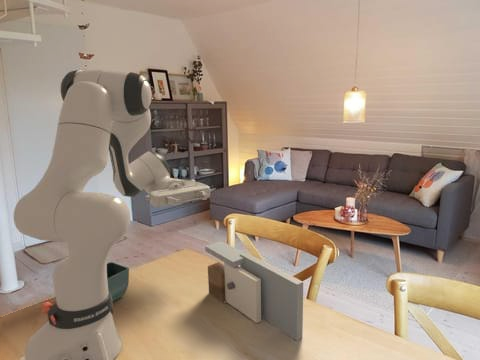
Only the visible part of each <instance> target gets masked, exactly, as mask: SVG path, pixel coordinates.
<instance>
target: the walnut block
mask: <svg viewBox="0 0 480 360" xmlns="http://www.w3.org/2000/svg"><path fill="white" fill-rule="evenodd" d="M207 279H208V281H207V283H208V294H209V295H210V296H212V297H213V298H214V299H216V300H218V302H220V303H221V304H223V303H226V302H227V301H225V275H224V263H221V262H219V261H218V262H216V263H212V264H210V265H207Z"/></svg>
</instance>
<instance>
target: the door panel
mask: <svg viewBox="0 0 480 360" xmlns="http://www.w3.org/2000/svg"><path fill="white" fill-rule="evenodd" d="M223 265H224V275H225V301H226V302H227V303H228V304H230V305H231V306H232V307H234V309H236V310H238V311H239V312H240V313H242V314H244V316H246V317H247V318H249V319H250V320H252V322H254V323H256V324H257V323H259V322H262V317H261V279H259V278H258V277H256V276H254V275H253V274H251V273H249V272H247V271H246V270H244V269H242V268H240V265H238V266H236V267H232V266H230V265H228V264H226V263H225V262H223Z"/></svg>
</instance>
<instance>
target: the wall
mask: <svg viewBox="0 0 480 360" xmlns="http://www.w3.org/2000/svg"><path fill="white" fill-rule="evenodd" d="M204 248H205V249H204V251H205V252H207V253H208V254H210V255H211V256H213V257H215V258H217V259H218V260H220V261H222V262H223V263H224V262H225V263H226V264H228V265H230V266H232V267H236V266H239V267H240V268H242V269H244V270H246V271H247V272H249V273H251V274H253V275H254V276H256V277H258V278H259V279H261V318H262V319H264V320H266V321H267V322H269V323H270V324H272V325H273V326H275V327H276V328H278V329H279V330H280V331H281V332H283V333H284V334H286V336H287V335H288V336H289V337H290V338H292V339H293V340H295V341H299V340H301V339H303V330H304V329H303V327H304V326H303V323H304V321H303V319H304V314H303V313H304V281H302V280H300V279H298V278H297V277H295V276H292V275H291V274H289V273H287V272H285V271H282V270H281V269H279V268H278V267H275V266H273V265H271V264H270V263H267V262H266V261H264V260H262V259H259V258H257V257H255V256H254V255H252V254H250V253H248V252H246V251H245V252H243V250H242V251H241V250H239V249H238V248H236V247H234V246H233V245H229V244H228V243H226V242H224V241H223V240H221V241H218V242H213V243H211V244H210V243H209V244H207V245H205V246H204Z"/></svg>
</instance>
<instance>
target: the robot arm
mask: <svg viewBox="0 0 480 360" xmlns="http://www.w3.org/2000/svg"><path fill="white" fill-rule="evenodd" d="M151 88H152V87H151V84H150V81H149V80H148V79H147V78H146V77H145V76H144V75H143V74H140V73H137V72H124V71H117V70H108V69H87V70H83V69H77V70H76V69H75V70H71V71H69V72H67V73H66V74H65V76H64V77H63V79H62V81H61V84H60V95H61V99H62V104H61V105H62V106H61V109H60V113H59V117H58V123H57V129H56V135H55V141H54V145H53V150H52V155H51V158H50V162H49V164H48V166H47V168H46V171H45V172H44V174H43V175H42V177H41V179H40V181H38V183H37V185H35V186H34V188H33V189H31V190H30V191H29V192H28V193H26V194H25V195H23V196H22V197H21V198H20V199H19V200H18V202H17V203H16V205H15V207H14V211H13V222H14V223H13V224H14V225H15V228H16V230H17V231H18V232H20V233H21V234H23V235H25V236H28V237H30V238H33V239H37V240H39V241H47V242H58V243H59V242H60V243H66V244H67V245H68V249H69V250H68V256H65V257H64V258H63V259H61V260H59V262H58V263H57V264H56V265H55V267H54V269H53V272H52V274H51V275H52V284H53V290H54V295H55V296H54V297H55V302H54V303H53V304H52V303H51V302H50V301H46V302H44V303H43V304H42V305H41V309H42V311H43V313H44V314H46V315H47V321H46V322H45V323H44V324H43V325H42V326H41V327H40V328H39V329H38V330H37V331H36V332H35V333H34V334H33V335H32V336H31V337H29V338H28V341H27V343H26V346H25V349H24V350H25V351H24V355H23V356H21V357H20V358H19V360H115V359H116V358H117V356H118V355H119V354H120V352H121V351H122V347H123V342H122V339H121V337H120V335H119V333H118V331H117V327H116V324H115V320H114V317H113V314H114V311H113V309H114V304H113V303H114V301H113V302H112V296H111V292H110V291H109V290H108V281H107V263H108V258H109V254H110V252H111V250H112V249H113V247H114V246H115V245H117V243H118V242H120V241H121V240H122V239H123V238H124V237H125V235H126V234H127V232H128V230H129V228H130V226H131V212H130V208H129V206H128V204H127V203H126V202H125V200H124V199H123V198H120V197H117V196H114V195H111V194H108V193H107V194H106V193H103V192H86V191H85V192H84V189H85V187H86V186H87V184H88V182H89V181H90V180H91V179H92V178H93V177H94V178H95V176H97V175H99V174H101V173H102V172H103V171H104V170H105V168H106V167H107V164H108V158H110V161H111V162H110V163H111V168H112V172H113V173H112V174H113V175H112V177H113V179H112V181H113V184H114V186H115V188H116V190H117V191H118V193H119V194H120V195H121V196H123V197H129V198H130V197H131V198H134V197H136V196H137V195H138V194H140V193H141V192H142V191H143V190H144V191H145V192H146V193H147V195H145V196H144V199H145V200H147V201H149V202H150V204H151V205H152V206H153V207H155V208H162V207H165V206H166V207H167V206H180V205H182V203H186V202H191V201H197V200H202V201H205V200H208V198H210V197H211V187H210V186H209V185H207V184H205V183H202V182H198V181H196V180H195V179H193V178H192V179H190V178H188V179H180V178H174V177H173V178H172V177H171V168H170V165H169V163H168V161H167V160H166V159H165V157H164V156H163V155H161V154H160V153H159V152H157V151H156V152H155V151H153V150H148V151H146V152H145V153H143V154H142V155H140V156H139V157H136V159H135V160H133V161H131V162H130V163H129V159H128V158H129V157H128V156H129V153H130V151H131V150H132V149H133V147H134V146H135V145H136V144H137V143H138V142H139V140H141V138H143V137H144V136H145V135H146V134H147V132H148V131H149V129H150V127H151V124H152V114H151V110H150V106H151V104H152V95H153V93H152V89H151ZM108 156H109V157H108Z"/></svg>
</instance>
